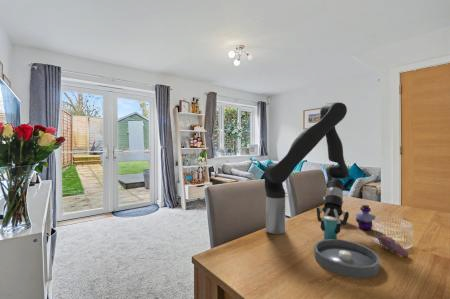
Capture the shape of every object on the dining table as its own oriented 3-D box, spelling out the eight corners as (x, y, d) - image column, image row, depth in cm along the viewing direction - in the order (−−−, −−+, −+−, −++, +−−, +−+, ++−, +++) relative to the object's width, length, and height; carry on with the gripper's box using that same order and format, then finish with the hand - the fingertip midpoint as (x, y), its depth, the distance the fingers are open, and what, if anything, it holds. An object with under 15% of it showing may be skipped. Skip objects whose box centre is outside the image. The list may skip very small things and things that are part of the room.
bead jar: (325, 241, 98) (325, 219, 98) (322, 236, 103) (322, 215, 103) (338, 242, 97) (338, 220, 96) (335, 237, 102) (335, 216, 102)
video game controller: (380, 249, 94) (373, 235, 93) (389, 244, 94) (382, 230, 94) (400, 262, 84) (393, 246, 84) (411, 256, 84) (403, 240, 84)
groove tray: (320, 273, 74) (320, 263, 74) (310, 245, 95) (310, 237, 95) (391, 282, 70) (391, 271, 70) (365, 250, 90) (365, 241, 90)
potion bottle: (354, 224, 118) (354, 202, 118) (374, 227, 114) (374, 204, 114) (355, 230, 110) (356, 206, 110) (376, 233, 106) (377, 208, 106)
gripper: (317, 192, 110) (311, 224, 100) (350, 196, 102) (348, 231, 92) (318, 200, 114) (313, 231, 105) (351, 204, 106) (348, 239, 97)
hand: (329, 231), depth 98 cm, fingers closed on bead jar, 5 cm apart
